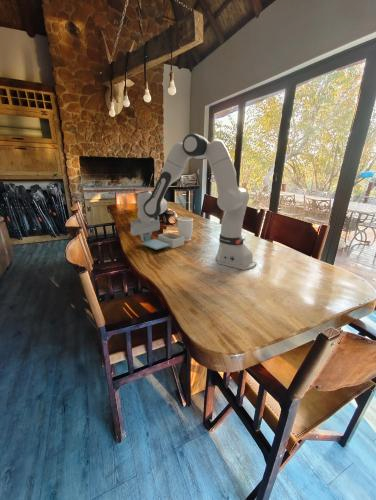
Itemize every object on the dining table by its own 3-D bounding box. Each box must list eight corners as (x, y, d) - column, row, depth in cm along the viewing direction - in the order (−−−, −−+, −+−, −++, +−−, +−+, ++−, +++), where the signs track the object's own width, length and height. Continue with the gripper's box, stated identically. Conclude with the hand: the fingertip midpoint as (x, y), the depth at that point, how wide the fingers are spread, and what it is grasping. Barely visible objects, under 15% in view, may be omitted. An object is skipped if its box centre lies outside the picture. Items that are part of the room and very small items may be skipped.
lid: (169, 246, 143) (169, 239, 142) (156, 250, 136) (156, 243, 134) (150, 239, 155) (150, 232, 154) (137, 242, 148) (136, 236, 146)
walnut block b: (172, 243, 155) (172, 237, 154) (166, 244, 153) (166, 238, 152) (169, 241, 158) (169, 235, 157) (163, 242, 156) (163, 236, 155)
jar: (193, 238, 169) (193, 217, 164) (192, 242, 159) (192, 220, 154) (178, 237, 170) (178, 216, 164) (176, 241, 160) (176, 220, 155)
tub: (184, 245, 153) (184, 236, 151) (172, 249, 146) (172, 240, 144) (169, 240, 162) (169, 232, 160) (158, 243, 155) (158, 235, 153)
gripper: (133, 221, 136) (135, 244, 141) (161, 216, 150) (161, 237, 155) (127, 219, 140) (129, 241, 145) (154, 214, 154) (155, 235, 159)
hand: (146, 239), depth 150 cm, fingers closed on lid, 3 cm apart
